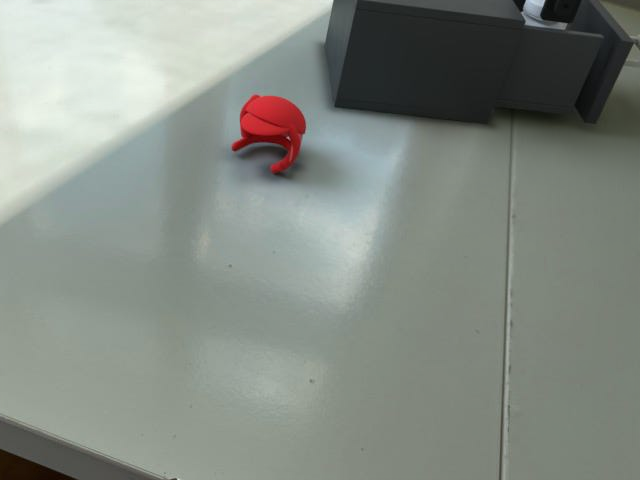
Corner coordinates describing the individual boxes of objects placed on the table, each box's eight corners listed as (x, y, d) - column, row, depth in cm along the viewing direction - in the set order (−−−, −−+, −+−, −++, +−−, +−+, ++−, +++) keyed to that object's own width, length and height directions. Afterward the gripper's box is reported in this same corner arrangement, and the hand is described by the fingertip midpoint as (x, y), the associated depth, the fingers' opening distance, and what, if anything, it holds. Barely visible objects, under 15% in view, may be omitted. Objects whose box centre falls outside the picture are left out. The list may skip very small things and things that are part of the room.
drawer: (615, 75, 90) (651, -2, 84) (658, 132, 80) (701, 50, 74) (434, 53, 88) (458, -27, 82) (456, 109, 78) (485, 23, 73)
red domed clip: (241, 130, 72) (249, 69, 68) (305, 144, 71) (317, 84, 67) (220, 175, 66) (228, 112, 62) (289, 192, 65) (301, 129, 61)
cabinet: (460, 62, 89) (491, -34, 82) (488, 124, 79) (526, 20, 72) (324, 45, 88) (343, -54, 81) (334, 106, 78) (357, -1, 70)
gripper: (710, -173, 60) (610, 48, 72) (628, -215, 73) (555, -22, 85) (616, -187, 59) (531, 38, 71) (551, -227, 72) (488, -31, 84)
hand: (545, 4), depth 78 cm, fingers open, 6 cm apart
